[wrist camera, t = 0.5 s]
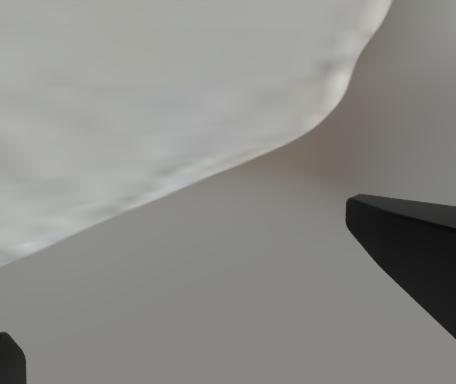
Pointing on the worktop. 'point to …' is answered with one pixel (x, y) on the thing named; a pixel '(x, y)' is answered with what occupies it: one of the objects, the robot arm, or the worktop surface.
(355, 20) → the worktop surface
